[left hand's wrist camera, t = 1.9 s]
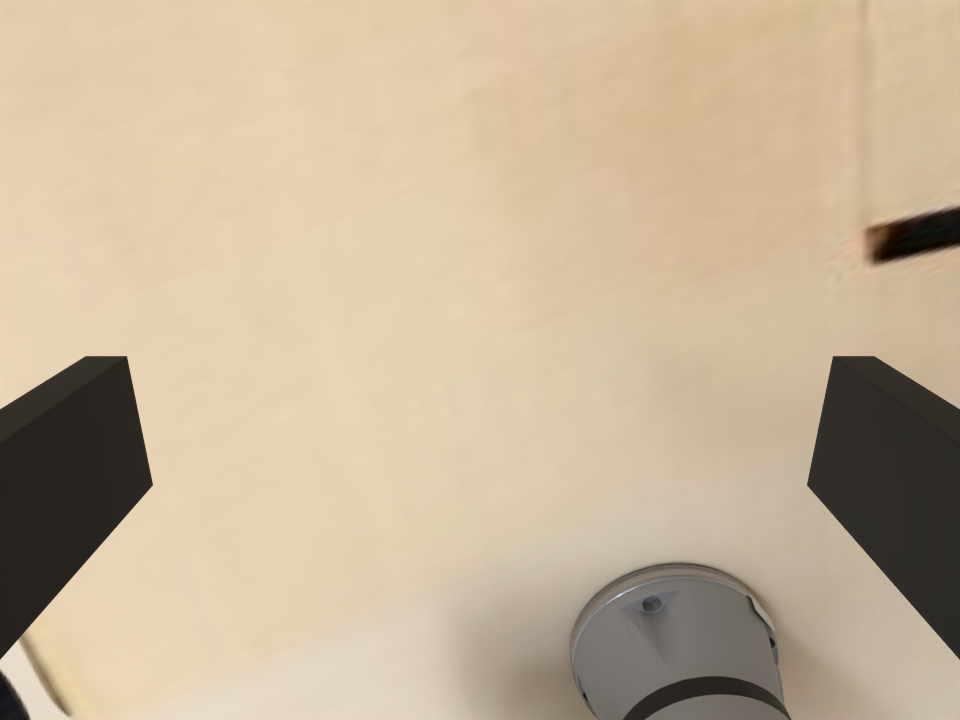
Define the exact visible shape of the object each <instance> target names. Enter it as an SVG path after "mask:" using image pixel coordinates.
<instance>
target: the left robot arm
mask: <svg viewBox="0 0 960 720" xmlns="http://www.w3.org/2000/svg"><path fill="white" fill-rule="evenodd" d="M152 486H153V483H152V478H151V473H150V468H149V463H148V458H147V453H146V448H145V443H144V438H143V434H142V429H141V424H140V419H139V414H138V409H137V404H136V399H135V394H134V389H133V384H132V379H131V374H130V369H129V364H128V359H127V356H85V357H84V358H82V359H81V360H79V361H77V362H76V363H74V364H73V365H71V366H69V367H68V368H66V369H64V370H63V371H61V372H60V373H58V374H56V375H55V376H53V377H52V378H50V379H48V380H47V381H45V382H44V383H42V384H40V385H39V386H37V387H35V388H34V389H32V390H31V391H29V392H27V393H26V394H24V395H23V396H21V397H19V398H18V399H16V400H15V401H13V402H11V403H10V404H8V405H6V406H5V407H3V408H2V409H0V659H1V658H2V657H3V656H4V655H5V654H6V652H7V651H8V650H9V649H10V648H11V647H12V646H13V644H14V643H15V642H16V641H17V640H18V639H19V638H20V636H21V635H22V634H23V633H24V632H25V631H26V630H27V628H28V627H29V626H30V625H31V624H32V623H33V622H34V620H35V619H36V618H37V617H38V616H39V615H40V614H41V612H42V611H43V610H44V609H45V608H46V607H47V606H48V604H49V603H50V602H51V601H52V600H53V599H54V598H55V596H56V595H57V594H58V593H59V592H60V591H61V590H62V588H63V587H64V586H65V585H66V584H67V583H68V582H69V580H70V579H71V578H72V577H73V576H74V575H75V574H76V572H77V571H78V570H79V569H80V568H81V567H82V566H83V564H84V563H85V562H86V561H87V560H88V559H89V558H90V556H91V555H92V554H93V553H94V552H95V551H96V550H97V548H98V547H99V546H100V545H101V544H102V543H103V542H104V540H105V539H106V538H107V537H108V536H109V535H110V534H111V532H112V531H113V530H114V529H115V528H116V527H117V526H118V524H119V523H120V522H121V521H122V520H123V519H124V518H125V516H126V515H127V514H128V513H129V512H130V511H131V510H132V508H133V507H134V506H135V505H136V504H137V503H138V502H139V500H140V499H141V498H142V497H143V496H144V495H145V494H146V492H147V491H148V490H149V489H150V488H151V487H152ZM807 486H808V487H809V488H810V489H811V490H812V491H813V492H814V494H815V495H816V496H817V497H818V498H819V499H820V500H821V502H822V503H823V504H824V505H825V506H826V507H827V508H828V510H829V511H830V512H831V513H832V514H833V515H834V516H835V518H836V519H837V520H838V521H839V522H840V523H841V524H842V526H843V527H844V528H845V529H846V530H847V531H848V532H849V534H850V535H851V536H852V537H853V538H854V539H855V540H856V542H857V543H858V544H859V545H860V546H861V547H862V548H863V550H864V551H865V552H866V553H867V554H868V555H869V556H870V558H871V559H872V560H873V561H874V562H875V563H876V564H877V566H878V567H879V568H880V569H881V570H882V571H883V572H884V574H885V575H886V576H887V577H888V578H889V579H890V580H891V582H892V583H893V584H894V585H895V586H896V587H897V588H898V590H899V591H900V592H901V593H902V594H903V595H904V596H905V598H906V599H907V600H908V601H909V602H910V603H911V604H912V606H913V607H914V608H915V609H916V610H917V611H918V612H919V614H920V615H921V616H922V617H923V618H924V619H925V620H926V622H927V623H928V624H929V625H930V626H931V627H932V628H933V630H934V631H935V632H936V633H937V634H938V635H939V636H940V638H941V639H942V640H943V641H944V642H945V643H946V644H947V646H948V647H949V648H950V649H951V650H952V651H953V652H954V654H955V655H956V656H957V657H958V658H959V659H960V409H958V408H957V407H955V406H954V405H952V404H950V403H949V402H947V401H945V400H944V399H942V398H941V397H939V396H937V395H936V394H934V393H933V392H931V391H929V390H928V389H926V388H925V387H923V386H921V385H920V384H918V383H916V382H915V381H913V380H912V379H910V378H908V377H907V376H905V375H904V374H902V373H900V372H899V371H897V370H896V369H894V368H892V367H891V366H889V365H887V364H886V363H884V362H883V361H881V360H879V359H878V358H876V357H875V356H833V359H832V364H831V369H830V374H829V379H828V384H827V389H826V394H825V399H824V404H823V409H822V414H821V419H820V424H819V429H818V434H817V438H816V443H815V448H814V453H813V458H812V463H811V468H810V473H809V478H808V483H807ZM774 632H775V633H776V630H775V628H774V625H773V622H772V619H771V618H770V617H769V616H768V615H767V613H766V612H765V611H764V610H763V608H762V607H761V605H760V603H759V601H758V600H757V599H756V597H755V596H754V595H753V594H752V592H751V591H750V590H749V589H748V588H747V587H745V586H744V585H743V584H742V583H740V582H739V581H737V580H736V579H734V578H733V577H731V576H729V575H727V574H725V573H722V572H720V571H717V570H714V569H711V568H707V567H702V566H697V565H687V564H670V565H661V566H655V567H650V568H646V569H643V570H639V571H636V572H634V573H631V574H628V575H626V576H624V577H622V578H620V579H618V580H616V581H615V582H613V583H611V584H610V585H608V586H607V587H605V588H604V589H603V590H601V591H600V592H599V593H598V594H597V595H596V596H595V597H594V598H593V599H591V600H590V602H589V603H588V604H587V605H586V606H585V608H584V609H583V611H582V612H581V614H580V615H579V617H578V619H577V621H576V623H575V626H574V628H573V632H572V635H571V641H570V656H571V663H572V669H573V675H574V679H575V682H576V685H577V687H578V690H579V692H580V694H581V696H582V698H583V700H584V701H585V703H586V705H587V706H588V708H589V709H590V710H591V712H592V713H593V714H594V715H595V716H596V717H597V719H598V720H791V718H790V716H789V714H788V712H787V710H786V708H785V706H784V698H783V690H782V683H781V677H780V672H779V669H778V650H777V643H776V639H775V635H774ZM776 634H777V633H776Z"/></svg>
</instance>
